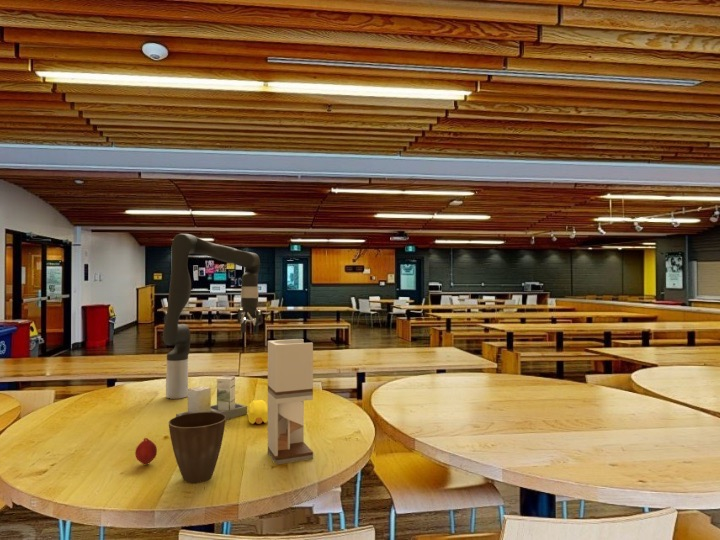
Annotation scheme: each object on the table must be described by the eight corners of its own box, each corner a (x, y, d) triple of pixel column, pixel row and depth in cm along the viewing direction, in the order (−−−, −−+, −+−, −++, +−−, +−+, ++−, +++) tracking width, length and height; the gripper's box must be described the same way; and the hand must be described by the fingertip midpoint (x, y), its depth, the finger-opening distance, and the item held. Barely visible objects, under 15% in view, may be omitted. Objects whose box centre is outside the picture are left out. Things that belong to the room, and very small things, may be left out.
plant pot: (155, 484, 128) (156, 423, 128) (193, 464, 142) (194, 409, 142) (201, 493, 122) (201, 430, 123) (236, 471, 136) (236, 414, 137)
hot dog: (248, 427, 177) (269, 425, 179) (248, 409, 177) (269, 407, 179) (247, 413, 195) (267, 412, 196) (248, 397, 195) (267, 396, 197)
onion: (139, 461, 144) (139, 434, 144) (159, 460, 144) (159, 433, 145) (132, 468, 138) (132, 441, 138) (152, 468, 139) (152, 440, 139)
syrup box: (235, 411, 196) (235, 375, 196) (230, 415, 190) (230, 378, 190) (222, 410, 196) (222, 375, 197) (216, 414, 191) (216, 378, 191)
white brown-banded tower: (275, 464, 141) (275, 345, 142) (267, 452, 151) (267, 340, 151) (312, 458, 146) (312, 342, 146) (302, 447, 155) (302, 338, 156)
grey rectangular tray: (176, 422, 183) (176, 414, 183) (228, 408, 201) (228, 401, 201) (194, 428, 175) (194, 420, 175) (247, 413, 194) (247, 406, 194)
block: (187, 420, 183) (187, 388, 183) (201, 416, 188) (201, 386, 188) (196, 423, 179) (196, 391, 180) (210, 419, 184) (210, 388, 184)
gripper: (232, 296, 217) (232, 332, 217) (253, 297, 208) (253, 335, 208) (246, 296, 223) (246, 331, 223) (266, 296, 214) (266, 333, 214)
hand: (249, 333), depth 215 cm, fingers open, 8 cm apart
